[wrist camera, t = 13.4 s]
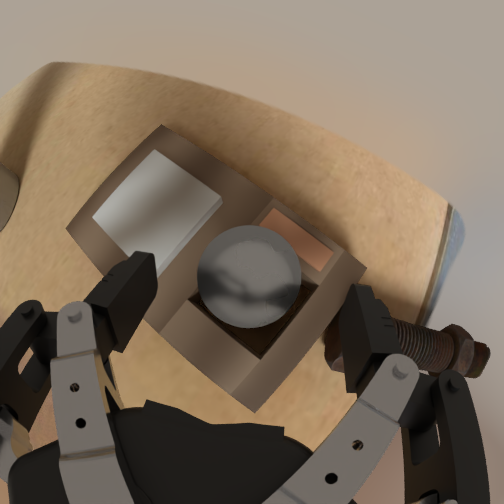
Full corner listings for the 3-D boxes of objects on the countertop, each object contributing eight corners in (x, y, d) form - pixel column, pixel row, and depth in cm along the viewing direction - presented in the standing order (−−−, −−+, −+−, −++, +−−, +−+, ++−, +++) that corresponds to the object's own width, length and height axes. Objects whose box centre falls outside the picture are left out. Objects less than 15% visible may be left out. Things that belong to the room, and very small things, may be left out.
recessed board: (84, 239, 22) (58, 224, 18) (170, 143, 24) (158, 117, 20) (255, 401, 18) (254, 418, 14) (353, 275, 20) (372, 264, 17)
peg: (215, 303, 20) (176, 282, 11) (249, 262, 21) (241, 206, 11) (257, 337, 19) (256, 349, 10) (291, 294, 20) (321, 267, 11)
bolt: (453, 366, 20) (321, 335, 21) (479, 322, 18) (346, 278, 19) (477, 402, 14) (327, 382, 15) (511, 353, 13) (364, 314, 14)
